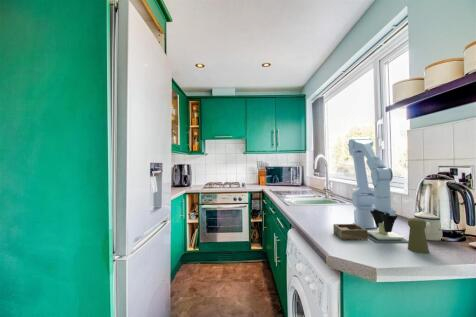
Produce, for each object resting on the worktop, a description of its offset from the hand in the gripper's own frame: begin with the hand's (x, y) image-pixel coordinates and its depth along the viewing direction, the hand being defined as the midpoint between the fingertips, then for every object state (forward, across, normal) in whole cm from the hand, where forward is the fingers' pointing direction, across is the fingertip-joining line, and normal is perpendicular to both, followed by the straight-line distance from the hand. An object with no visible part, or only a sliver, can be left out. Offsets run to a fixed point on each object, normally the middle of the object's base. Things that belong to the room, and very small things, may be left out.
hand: (383, 229), depth 97 cm
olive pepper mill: (+3, +14, +4) cm, 15 cm away
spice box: (+3, -2, -13) cm, 14 cm away
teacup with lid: (+3, +1, +17) cm, 17 cm away
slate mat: (+3, 0, 0) cm, 3 cm away
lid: (+3, 0, 0) cm, 3 cm away
